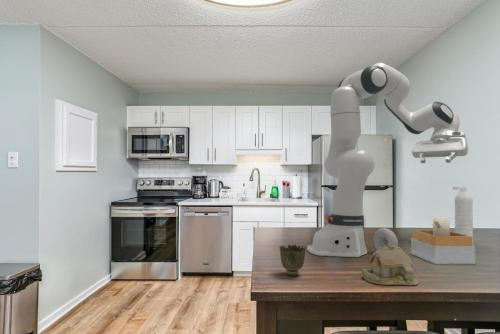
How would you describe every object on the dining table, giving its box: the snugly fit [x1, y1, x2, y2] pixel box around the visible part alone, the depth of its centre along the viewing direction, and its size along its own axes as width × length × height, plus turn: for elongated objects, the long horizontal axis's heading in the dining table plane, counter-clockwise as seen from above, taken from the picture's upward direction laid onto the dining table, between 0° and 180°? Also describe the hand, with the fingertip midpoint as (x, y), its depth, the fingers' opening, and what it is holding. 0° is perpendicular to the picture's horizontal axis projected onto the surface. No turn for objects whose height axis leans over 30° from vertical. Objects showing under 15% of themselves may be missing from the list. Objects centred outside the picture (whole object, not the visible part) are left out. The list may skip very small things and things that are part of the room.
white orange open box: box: [410, 229, 476, 265], centre depth 113 cm, size 17×14×9 cm
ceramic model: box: [361, 243, 420, 286], centre depth 88 cm, size 14×11×10 cm
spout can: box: [432, 215, 451, 236], centre depth 112 cm, size 9×5×8 cm, turn 133°
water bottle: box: [452, 186, 474, 243], centre depth 138 cm, size 9×6×25 cm
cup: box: [279, 243, 307, 277], centre depth 92 cm, size 8×7×8 cm
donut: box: [372, 227, 399, 251], centre depth 117 cm, size 10×4×10 cm, turn 27°
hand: (434, 161), depth 129 cm, fingers open, 8 cm apart
